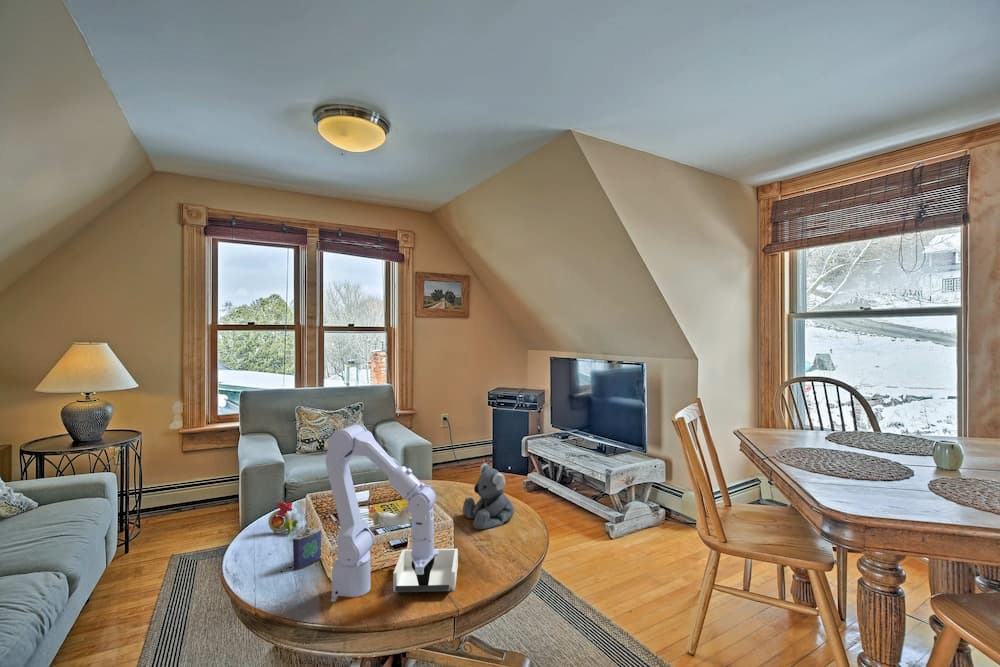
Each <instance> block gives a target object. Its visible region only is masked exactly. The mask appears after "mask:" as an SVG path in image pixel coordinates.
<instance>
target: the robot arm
mask: <svg viewBox="0 0 1000 667" xmlns="http://www.w3.org/2000/svg"><path fill="white" fill-rule="evenodd" d="M326 443H327V444H326V445H327V451H326V457H325V466H326V470H327V474H328V479H329V480H328V481H329V483H330V488H331V493H332V496H333V500H334V506H335V510H336V512H337V516H338V517H337V518H338V521H339V526H340V529H339V532H338V534H337V538H336V542H337V549H336V557H337V559H336V560H335V561H334V563H333V566H332V570H331V599H330V602H332V603H335V602H336V601H337V600H338V598H339V597H347V598H357V597H361V596H363V595H366V594H367V593H369V591H371V587H372V586H371V585H372V584H371V549H372V548H373V547H374V545H375V535H374V533H372V532H373V531H371V529H370V527H369V523H368V522H367V521H365V520H364V519H362V515H361V511H360V507H359V503H358V499H357V495H356V489H355V486H354V481H353V478H352V473H351V469H350V465H349V462H350V460H351V458H352V457H353V456H355V457H356V456H357V457H358V456H361V457H366V458H368V460H369V461H371V462H372V463H373V464H374V465H375V466H376V467H377V468H378V469H380V470H381V472H383V473H384V474H385V475H386V476H387V478H388V484H389V485H390V486H391V487H392V489H394V490H395V491H396V493H398V495H400V497H402V498H403V500H405V501H406V502H407V503H406V506H407V507H408V509H409V511H410V512H411V549H412V552H411V558H412V568H413V570H414V571H415V575H416V576H417V580H418V585H428V584H429V577H430V571H431V569H432V567H433V564H434V560H435V557H436V556H438V555H439V551H438V550H434V549H435V516H434V508H435V507H434V504H436V501H437V493H436V490H435V489H434V488H433V486H432V485H429V484H425V483H424V482H423V481H422V482H421V480H419V479H418V478H417V477H416V476H415V475H414V474H413V470H412V468H410V467H409V468H407V467H406V466H401V465H398V464H397V463H396V462H395V461H394V460H393V458H391V456H390V455H389V454H388V453H387V452H386V451H385V450H384V448H383V447H382V446H381V445H380V444H379V443H378V441H376V439H375V436H374V435H373V433H372V432H371V431H369V430H368V429H367V427H366V426H365V425H363V424H362V423H352V424H350V425H349V426H347V427H344V428H342V429H338V430H336V431H334V432H333V433H332V434H331V436H330V437H329V438H328V439H327V441H326Z"/></svg>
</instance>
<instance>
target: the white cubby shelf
mask: <svg viewBox="0 0 1000 667" xmlns="http://www.w3.org/2000/svg"><path fill="white" fill-rule="evenodd" d="M434 550H438V551H439V555H438V556H436V557H435V560H434V564H433V567H432V569H431V571H430V577H429V584H428V585H449V586H450V589H451V591H453V592H454V591H456V584H457V577H458V576H457V574H458V566H459V549H458V548H434ZM411 552H412V548H410V549H402V550H401V553H400V555H399V557H398V560H397V563H396V566H395V567H394V569H393V570H394V571H393V573H392V574H393V577H392V578H393V579H392V580H393V582H392V583H393V584H392V588H393V589H392V592H395V593H396V591H395V587H396V586H419V585H418V580H417V576H416V575H415V571H414V570H413V568H412V558H411Z"/></svg>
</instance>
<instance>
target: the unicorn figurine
mask: <svg viewBox="0 0 1000 667" xmlns="http://www.w3.org/2000/svg"><path fill="white" fill-rule="evenodd" d="M411 517H412V514H411V512H410V511H409V509H408V507H407V505H406V506H404V507H403V508H402V509H401V510H399V512H398V513H396V514H395V513H392V512H390V511H384V512H380V511H379V510H377V511H375V513H373V516H372V520H373V525H378V524H379V526H385V525H404V524H408V523H409V524H410V518H411ZM409 524H408V525H409Z"/></svg>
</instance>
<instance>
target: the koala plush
mask: <svg viewBox="0 0 1000 667" xmlns="http://www.w3.org/2000/svg"><path fill="white" fill-rule="evenodd" d="M479 471H480V476H478V479H477V482H476V484H475V485H474V487H473V490H474V492H475V493H476V494H477V495H478V496H479V499H478V501H477V502H475V499H474V498H473V497H465V499H464V501H463V506H462V514H463V516H464V517H466V519H473V527H474V529H476V530H480V529H481V530H488V529H491V528H495V527H500V525H501V526H502V525H504V523H506V522H508V521H509V520H510V519H511V518H512V517H513V516H514V515H515V514H514V513H515V507H514V504H513V503H512V501H511V500H510V499H509V498H508V496H506V494H505V493H504V488H505V487H506V484H507V483H506V478H505V477H506V476H505V475H504V474H502V473H501V472H499V470H498V469H495V468H492V467H491V466H489V464H487V463H486V462H483V464H481V465H480V470H479ZM487 528H488V529H487Z"/></svg>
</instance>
